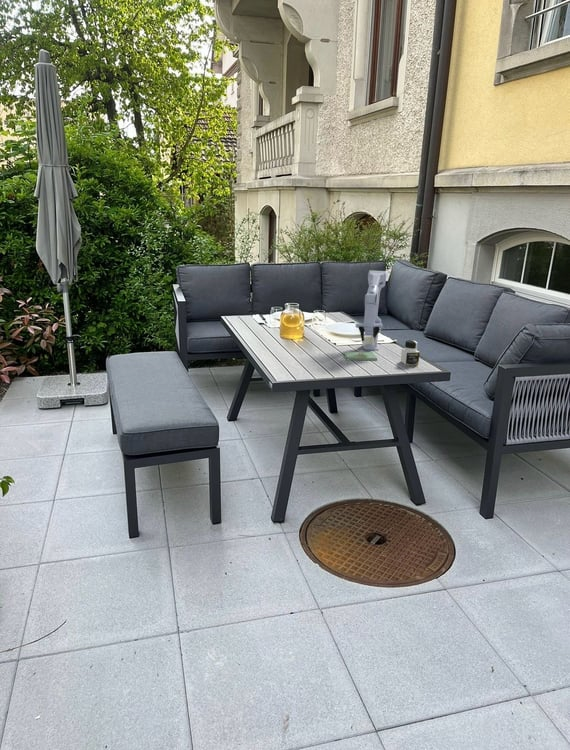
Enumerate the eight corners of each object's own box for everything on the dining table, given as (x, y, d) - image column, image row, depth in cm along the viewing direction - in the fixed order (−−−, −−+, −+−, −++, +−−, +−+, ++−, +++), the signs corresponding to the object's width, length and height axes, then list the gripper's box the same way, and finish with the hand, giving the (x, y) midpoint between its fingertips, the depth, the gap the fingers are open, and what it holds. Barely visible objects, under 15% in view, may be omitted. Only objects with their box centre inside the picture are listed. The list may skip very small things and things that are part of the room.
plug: (361, 342, 308) (362, 335, 307) (371, 342, 308) (372, 335, 307) (364, 344, 303) (364, 337, 302) (374, 344, 304) (374, 337, 302)
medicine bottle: (405, 365, 292) (407, 342, 289) (400, 361, 299) (402, 339, 295) (418, 365, 294) (420, 342, 290) (412, 361, 300) (415, 339, 297)
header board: (343, 354, 310) (343, 346, 309) (372, 354, 311) (372, 346, 310) (347, 360, 298) (347, 352, 297) (377, 360, 300) (377, 352, 298)
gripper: (358, 317, 297) (356, 342, 301) (385, 317, 298) (383, 342, 302) (355, 314, 303) (353, 339, 307) (381, 314, 305) (379, 339, 309)
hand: (368, 340), depth 305 cm, fingers closed on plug, 5 cm apart
